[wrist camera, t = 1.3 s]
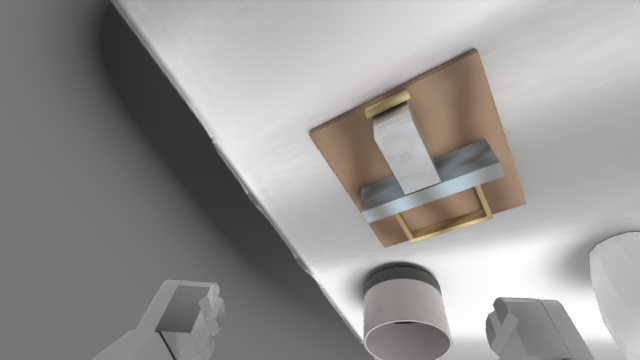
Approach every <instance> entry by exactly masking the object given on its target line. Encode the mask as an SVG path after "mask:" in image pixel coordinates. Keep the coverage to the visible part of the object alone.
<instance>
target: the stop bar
mask: <svg viewBox="0 0 640 360" xmlns="http://www.w3.org/2000/svg"><path fill="white" fill-rule="evenodd" d="M373 129H374V139H375V141H376V143H377V145H378V146H379V148H380V150H381V152H382V154H383V155H384V157H385V159H386V161H387V163H388V164H389V166H390V168H391V170H392V171H393V173H394V175H395V177H396V179H397V180H398V182H399V184H400V186H401V188H402V189H403V191H404V193H405V195H406V194H409V193H412V192H415V191H417V190H420V189H423V188H426V187H428V186H431V185H434V184H436V183H439V182H441V180H440V177H439V174H438V171H437V168H436V165H435V162H434V159H433V156H432V153H431V151H430V148H429V146H428V144H427V142H426V140H425V138H424V136H423V133H422V131H421V129H420V127H419V125H418V123H417V121H416V118H415V116H414V114H413V112H412V110H411V108H410V105H409V103H408V101H407V100H405V101H403V102H401V103H399V104H397V105H395V106H393V107H391V108H389V109H387V110H385V111H383V112H380V113H378V114H376V115H374V116H373Z"/></svg>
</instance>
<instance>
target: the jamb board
mask: <svg viewBox="0 0 640 360" xmlns="http://www.w3.org/2000/svg"><path fill="white" fill-rule="evenodd" d="M405 100H407V101H408V103H409V105H410V108H411V110H412V112H413V114H414V116H415V118H416V121H417V123H418V125H419V127H420V129H421V131H422V133H423V136H424V138H425V140H426V142H427V144H428V146H429V148H430V151H431V153H432V156H433V159H434V162H435V165H436V168H437V171H438V174H439V177H440V180H441V182H439V183H436V184H434V185H431V186H428V187H426V188H423V189H420V190H417V191H415V192H412V193H409V194H406V195H405V193H404V191H403V189H402V188H401V186H400V184H399V182H398V180H397V179H396V177H395V175H394V173H393V171H392V170H391V168H390V166H389V164H388V163H387V161H386V159H385V157H384V155H383V154H382V152H381V150H380V148H379V146H378V145H377V143H376V141H375V139H374V129H373V116H374V115H376V114H378V113H380V112H383V111H385V110H387V109H389V108H391V107H393V106H395V105H397V104H399V103H401V102H403V101H405ZM309 136H310V137H311V139H312V140H313V142H314V143H315V145H316V146H317V148H318V149H319V151H320V152H321V154H322V155H323V157H324V158H325V160H326V161H327V163H328V164H329V166H330V167H331V169H332V170H333V172H334V173H335V174H336V176H337V177H338V179H339V180H340V182H341V183H342V185H343V186H344V188H345V189H346V191H347V192H348V194H349V195H350V197H351V198H352V200H353V201H354V203H355V204H356V206H357V207H358V209H359V210H360V212H361V213H362V215H363V216H364V218H365V219H366V221H367V222H368V223H369V225H370V226H371V228H372V229H373V231H374V232H375V234H376V235H377V237H378V238H379V240H380V241H381V243H382V244H383V246H384V247H385V248H386V247H389V246H392V245H395V244H398V243H402V242H405V241H408V240H410V242H411V243H412V242H416V241H419V240H422V239H426V238H429V237H432V236H435V235H439V234H442V233H445V232H448V231H452V230H455V229H458V228H462V227H465V226H468V225H471V224H475V223H478V222H481V221H484V220H488V219H491V218H493V216H492V214H495V213H499V212H502V211H505V210H508V209H511V208H515V207H518V206H521V205H524V204H526V201H525V197H524V194H523V191H522V188H521V185H520V182H519V178H518V175H517V172H516V169H515V166H514V163H513V160H512V156H511V153H510V150H509V147H508V144H507V141H506V137H505V134H504V131H503V128H502V125H501V122H500V119H499V115H498V112H497V109H496V106H495V103H494V100H493V96H492V93H491V90H490V87H489V84H488V81H487V78H486V74H485V71H484V68H483V65H482V62H481V59H480V55H479V52H478V51H477V50H476V49H473V50H471V51H469V52H467V53H465V54H463V55H461V56H459V57H457V58H455V59H453V60H451V61H449V62H447V63H445V64H443V65H441V66H439V67H437V68H435V69H433V70H431V71H429V72H427V73H425V74H423V75H421V76H419V77H417V78H415V79H413V80H411V81H409V82H407V83H405V84H403V85H401V86H399V87H397V88H395V89H393V90H391V91H389V92H387V93H385V94H383V95H381V96H379V97H377V98H375V99H373V100H371V101H369V102H367V103H365V104H363V105H361V106H359V107H357V108H355V109H353V110H351V111H349V112H347V113H345V114H343V115H341V116H339V117H337V118H335V119H333V120H331V121H329V122H327V123H325V124H323V125H321V126H319V127H317V128H315V129H313V130H311V131H310V134H309Z"/></svg>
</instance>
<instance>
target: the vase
mask: <svg viewBox="0 0 640 360" xmlns="http://www.w3.org/2000/svg"><path fill="white" fill-rule="evenodd" d="M589 258H590V274H591V281H592V286H593V290H594V293H595V297H596V300H597V303H598V306H599V310H600V313H601V316H602V319H603V322H604V324H605V325H606V327H607V329H608V330H609V332H610V334H611V335H612V337H613V339H614V340H615V342H616V344H617V345H618V347H619V348H620V350H621V352H622V353H623V355H624V356H625V358H626V359H627V360H640V232H627V233H623V234H620V235H617V236H613V237H610V238H608V239H606V240H604V241H603V242H601V243H599V244H597V245H595V247H594V248H593V249H592V251H591V252H590V253H589Z"/></svg>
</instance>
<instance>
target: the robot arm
mask: <svg viewBox="0 0 640 360" xmlns="http://www.w3.org/2000/svg"><path fill="white" fill-rule="evenodd" d="M218 293H219V287H218V284H217V283H207V282H193V281H180V280H179V281H178V280H167V281H165V282H164V283H163V284H162V286H161V287H160V289H159V291H158V292H157V294H156V296H155V298H154V299H153V301H152V303H151V304H150V306H149V308H148V310H147V311H146V313H145V315H144V316H143V318H142V320H141V322H140V323H139V325H138V327H137V328H136V330H130V331H129V332H127V333H126V334H125V335H123V336H122V337H121V338H120V339H118V340H117V341H116V342H114V343H113V344H112V345H110V346H109V347H108V348H106V349H105V350H104V351H103V352H101V353H100V354H98V355H97V356H96V357H95V358H93V359H92V360H210V357H211V354H212V351H213V348H214V346H215V344H214V341H213V338H212V337H213V336H214V335H215V334H216V333H218V332H219V331H220V329H221V326H222V323H223V318H224V311H225V310H224V302H223V299H222V298H220V297H219V296H218ZM493 306H494V309H495V311H493V312H492V313H490V314H489V315H488V317H487V320H486V334H487V339H488V342H489V345H490V348H491V349H492V350H493V351H494V352H495V353H496V354H497V355H498V356H499V358H498V360H595V358H594V357H593V355H592V354H591V352H590V350H589V349H588V347H587V345H586V344H585V342H584V340H583V339H582V337H581V335H580V334H579V332H578V330H577V329H576V327H575V326H574V324H573V322H572V321H571V319H570V317H569V316H568V314H567V312H566V311H565V309H564V307H563V306H562V304H561V303H559V302H558V301H557V300H540V299H531V298H504V297H499V298H497V299H496V300H495V302H494V304H493Z"/></svg>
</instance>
